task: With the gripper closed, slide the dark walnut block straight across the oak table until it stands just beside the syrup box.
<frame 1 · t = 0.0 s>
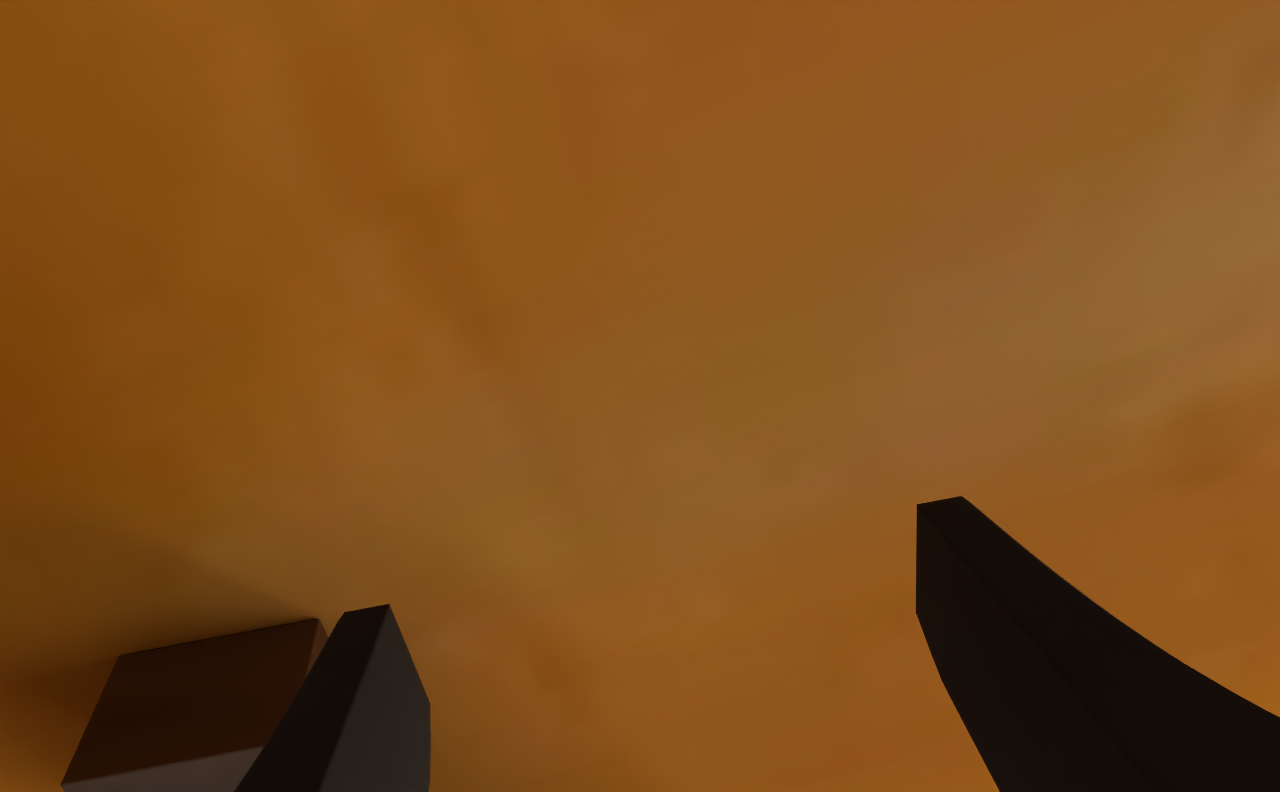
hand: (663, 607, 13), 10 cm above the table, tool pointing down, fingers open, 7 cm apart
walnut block: (256, 703, 28), on the table
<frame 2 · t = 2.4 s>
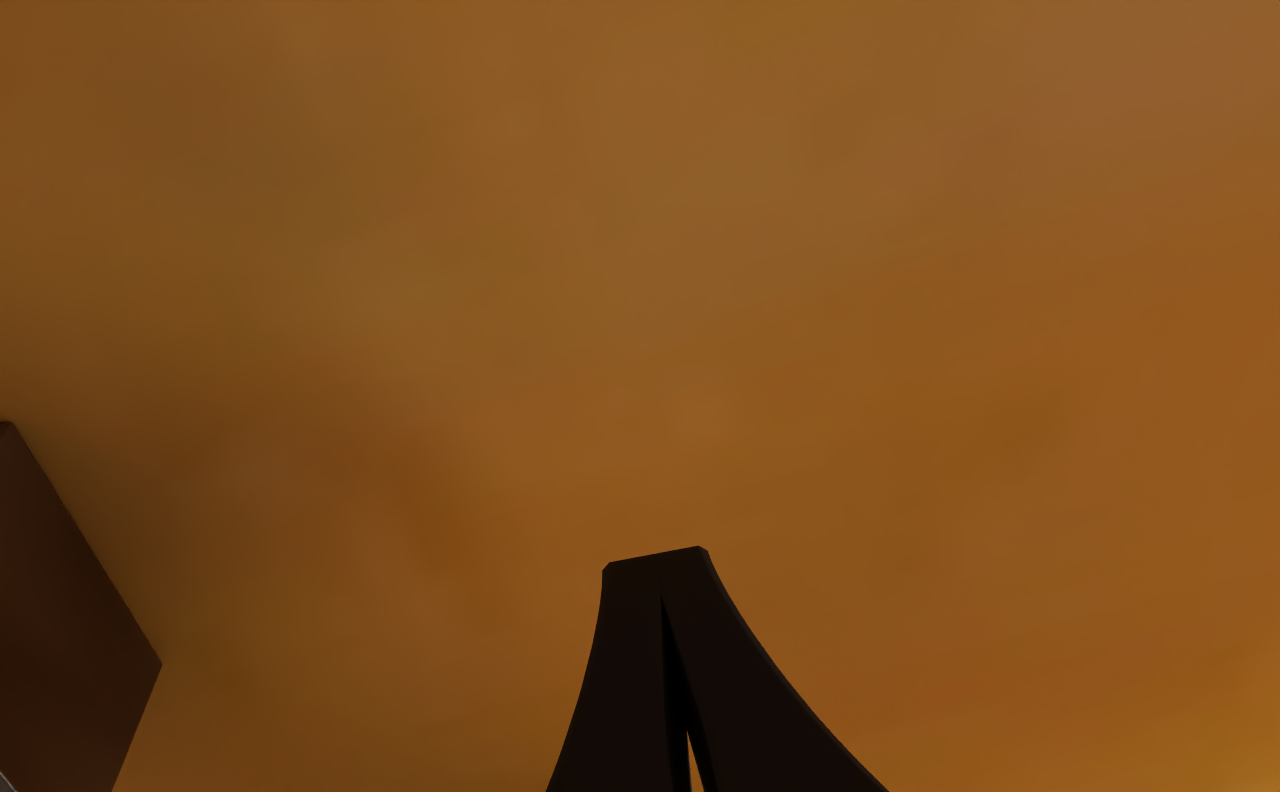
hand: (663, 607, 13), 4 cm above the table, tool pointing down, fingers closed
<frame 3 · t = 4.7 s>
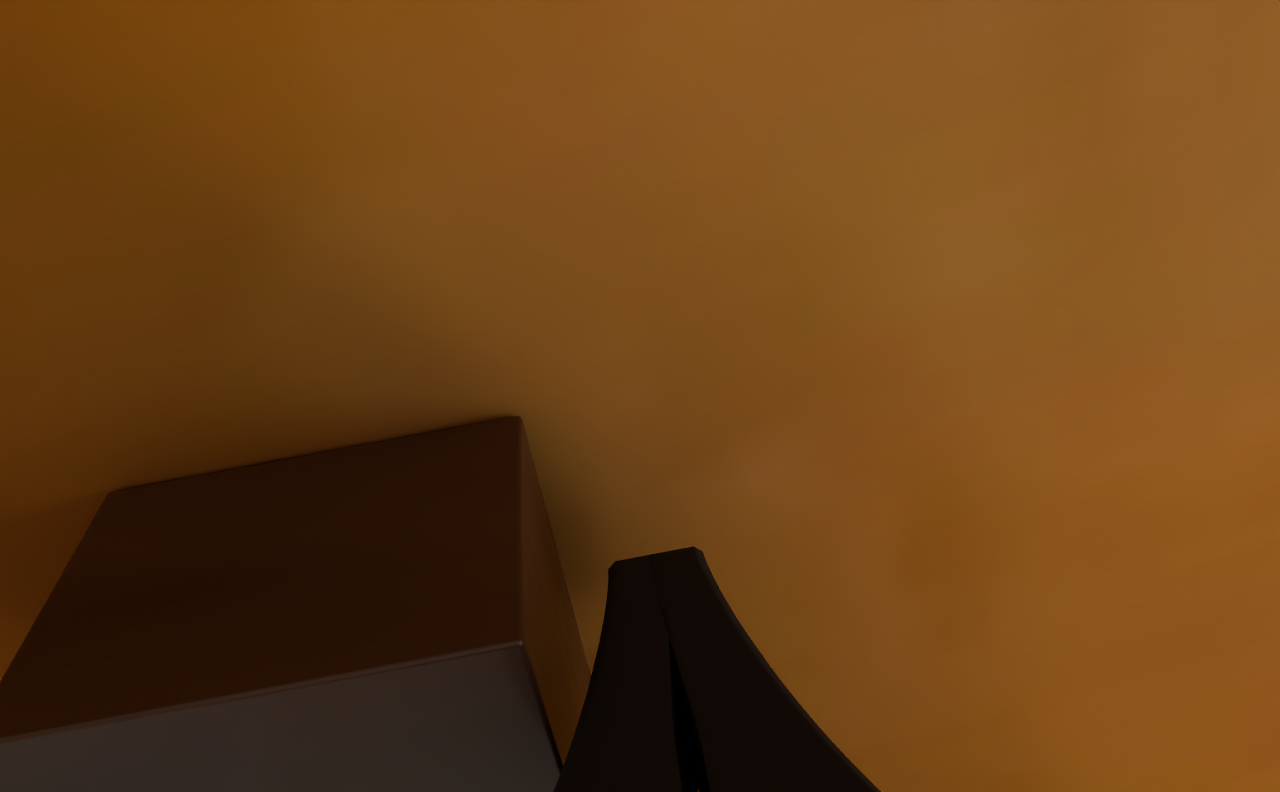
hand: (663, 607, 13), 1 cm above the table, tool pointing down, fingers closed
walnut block: (376, 601, 14), on the table, touching gripper
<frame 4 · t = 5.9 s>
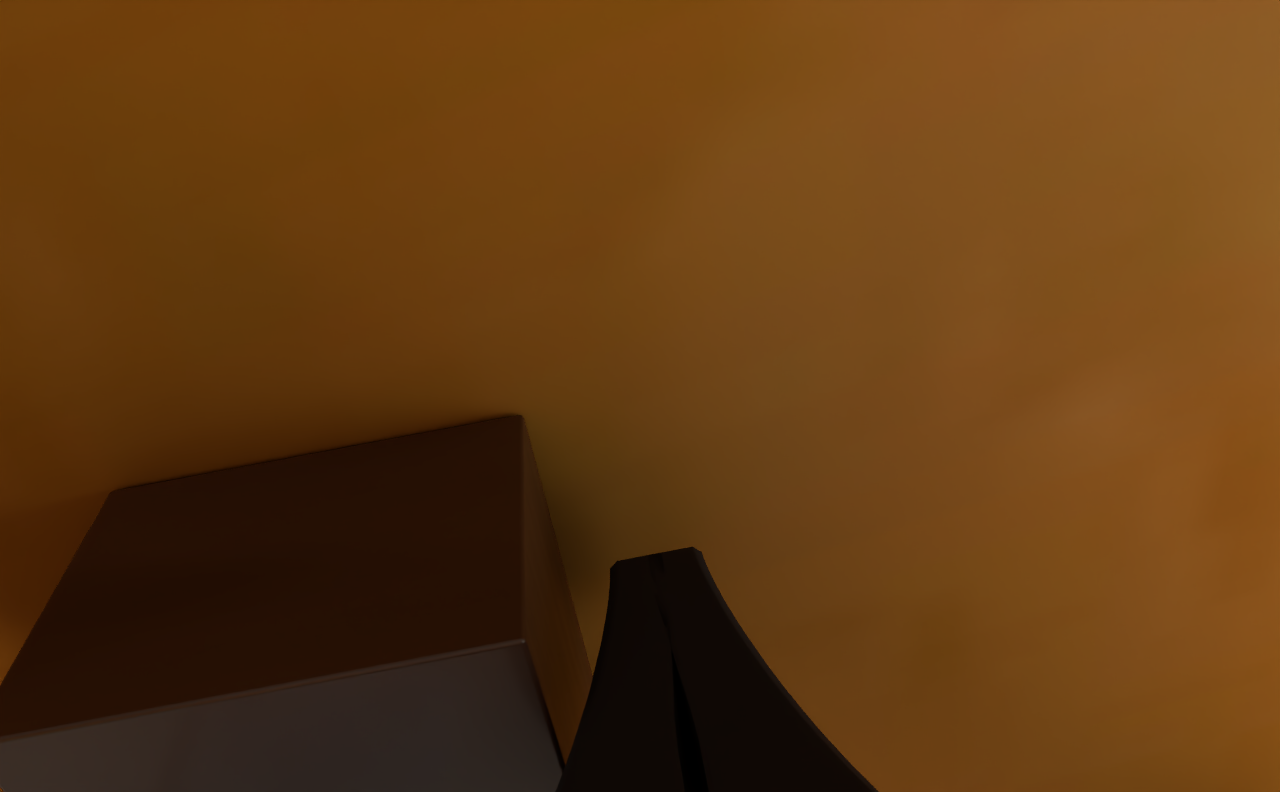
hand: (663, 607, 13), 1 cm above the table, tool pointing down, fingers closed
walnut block: (378, 600, 14), on the table, touching gripper
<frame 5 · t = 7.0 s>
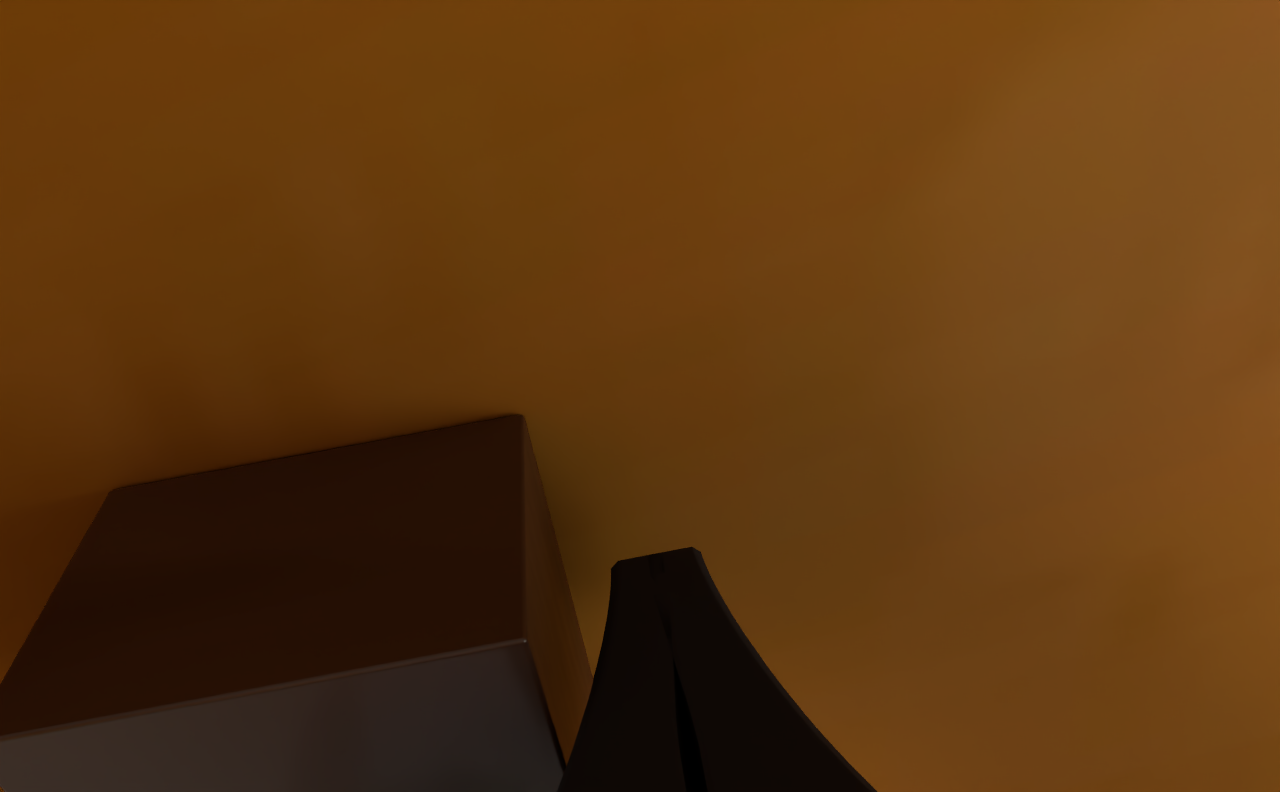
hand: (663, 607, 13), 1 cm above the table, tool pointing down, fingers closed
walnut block: (378, 599, 14), on the table, touching gripper
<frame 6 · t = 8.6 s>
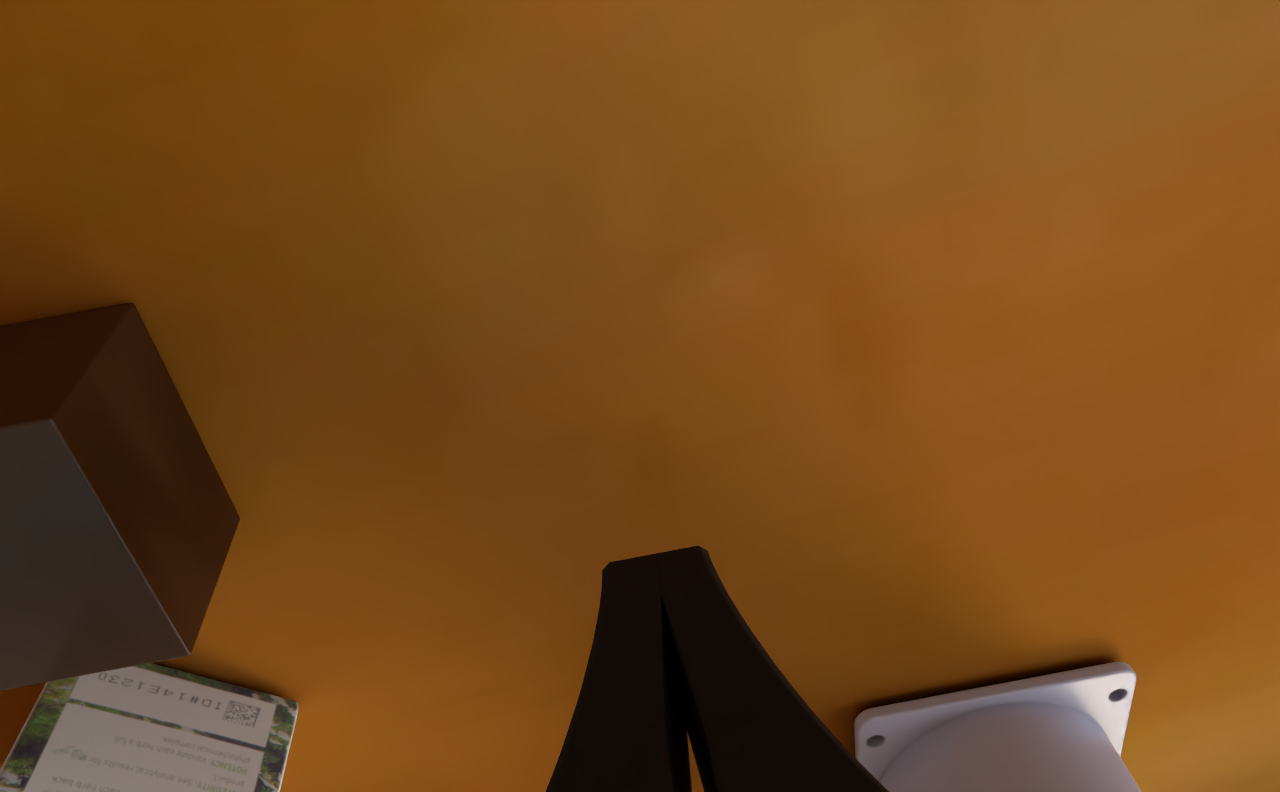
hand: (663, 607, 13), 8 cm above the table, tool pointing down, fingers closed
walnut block: (59, 442, 20), on the table
syrup box: (162, 727, 25), on the table
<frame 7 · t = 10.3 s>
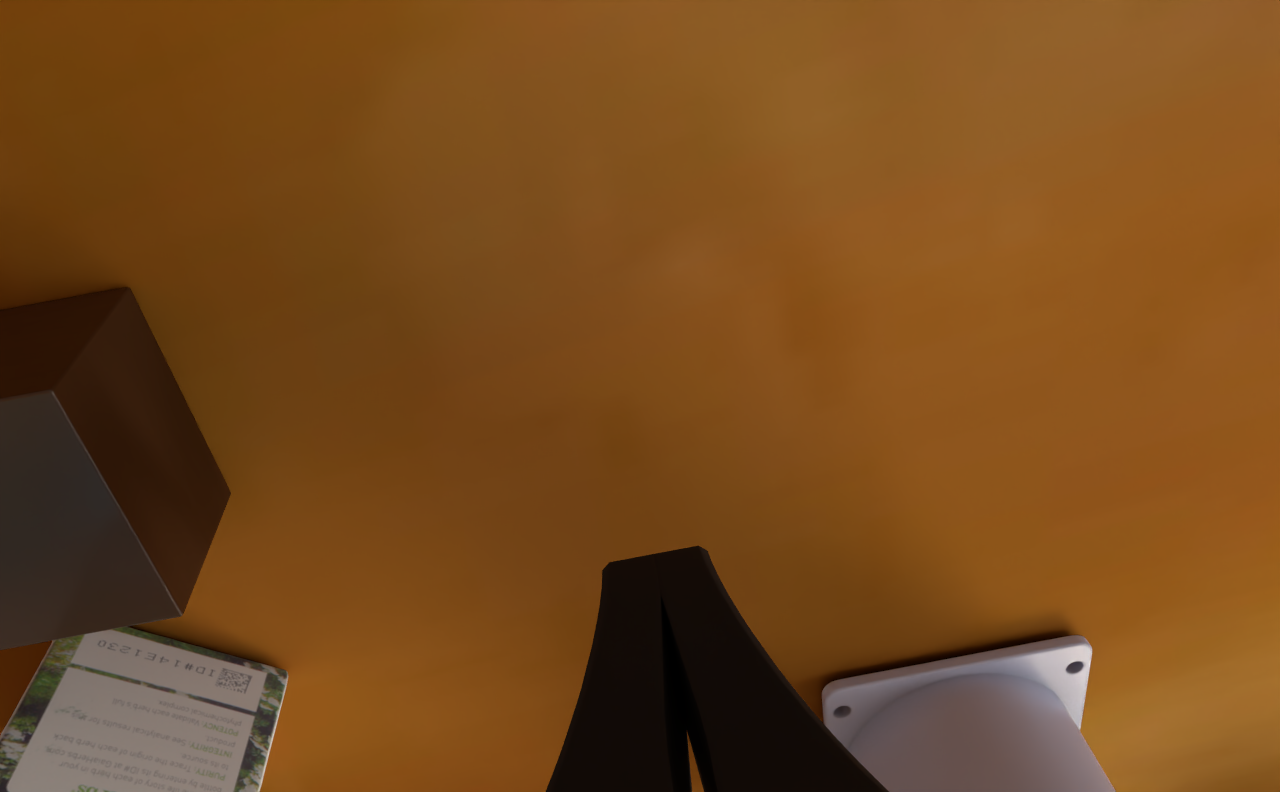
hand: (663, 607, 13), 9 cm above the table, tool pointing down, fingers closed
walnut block: (60, 419, 21), on the table
syrup box: (159, 696, 26), on the table
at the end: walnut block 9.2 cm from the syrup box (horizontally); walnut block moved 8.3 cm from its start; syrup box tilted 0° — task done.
